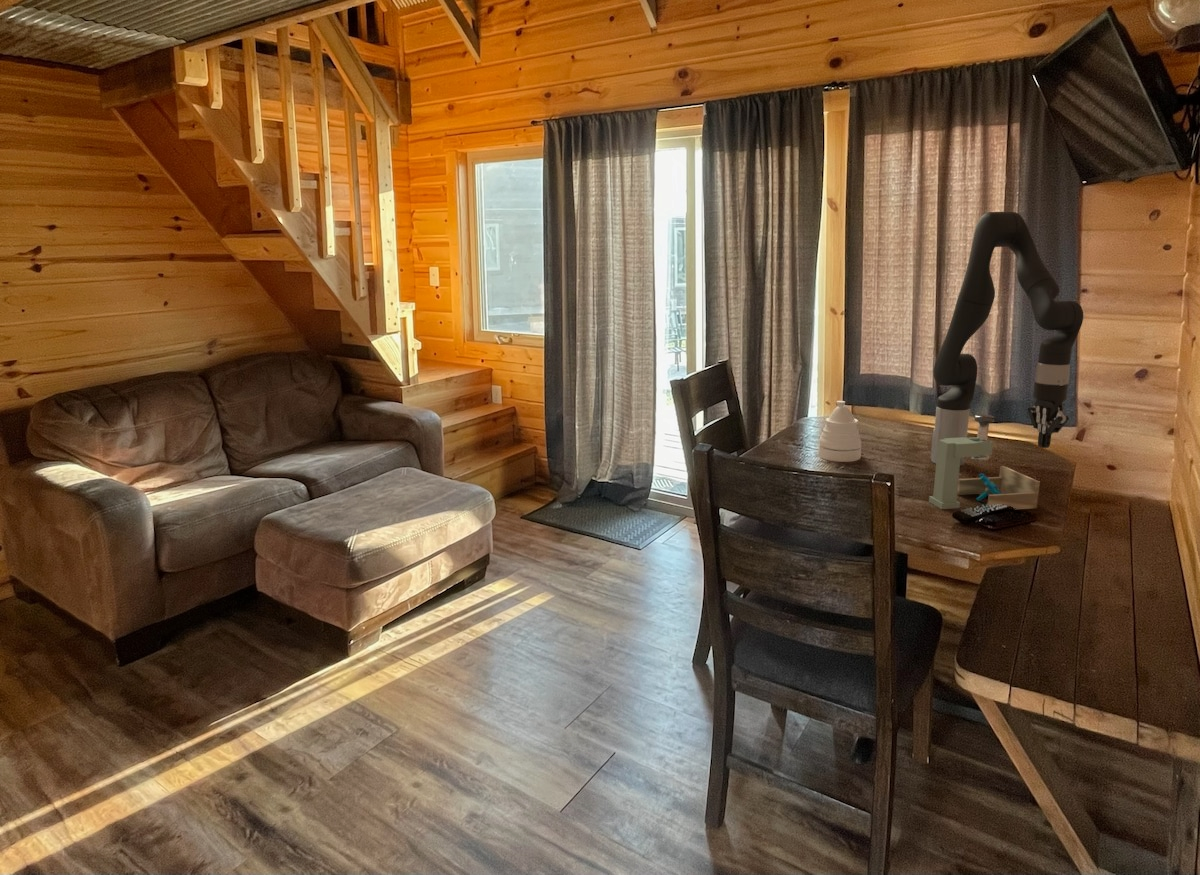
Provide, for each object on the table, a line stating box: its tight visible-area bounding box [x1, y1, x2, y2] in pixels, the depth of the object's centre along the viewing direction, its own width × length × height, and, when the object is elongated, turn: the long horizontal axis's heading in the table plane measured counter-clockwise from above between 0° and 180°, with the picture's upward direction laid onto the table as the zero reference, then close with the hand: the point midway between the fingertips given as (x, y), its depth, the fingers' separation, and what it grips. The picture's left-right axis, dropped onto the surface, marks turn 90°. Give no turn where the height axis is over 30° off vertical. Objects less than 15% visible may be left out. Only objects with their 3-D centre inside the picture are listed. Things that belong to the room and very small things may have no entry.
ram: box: [970, 413, 995, 462], centre depth 204 cm, size 4×4×11 cm
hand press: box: [928, 436, 994, 510], centre depth 206 cm, size 6×13×17 cm, turn 98°
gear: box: [975, 472, 1003, 502], centre depth 209 cm, size 11×6×10 cm
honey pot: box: [817, 400, 862, 463], centre depth 251 cm, size 13×13×18 cm
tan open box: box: [957, 465, 1041, 510], centre depth 208 cm, size 14×13×7 cm
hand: (1043, 447), depth 207 cm, fingers closed
